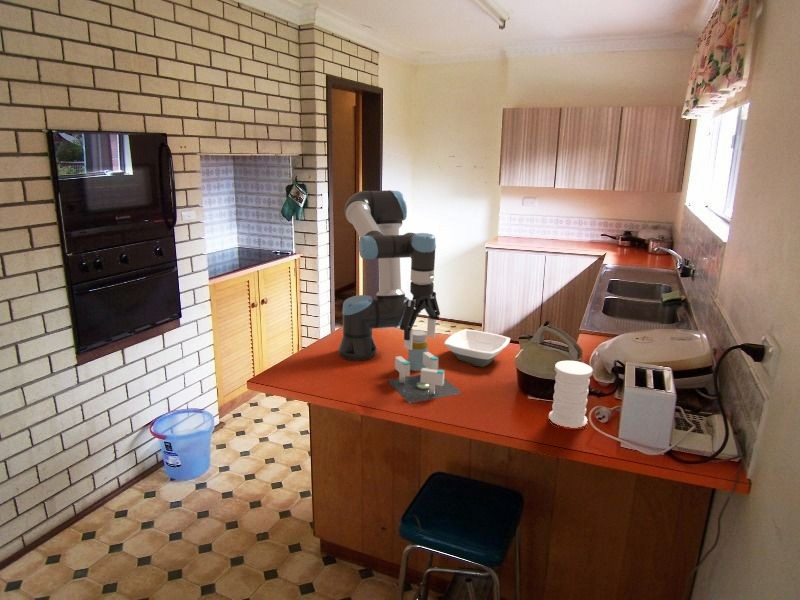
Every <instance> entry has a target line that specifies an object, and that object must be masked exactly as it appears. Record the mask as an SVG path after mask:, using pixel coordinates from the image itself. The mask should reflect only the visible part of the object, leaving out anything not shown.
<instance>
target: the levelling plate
mask: <svg viewBox="0 0 800 600" xmlns="http://www.w3.org/2000/svg"><path fill="white" fill-rule="evenodd" d="M420 380H421V374H418V375H412V376H411V375H410V376H405V382H404V383H400V382H399V378H395V379H394V378H393V379H389V380H386V382H387V383H388V384H389V385H390V386H391V387H392V388H393V389H394V390H395V391H396V392H397V393H398V394H399V395H400V396H401V397H402V398H403V399H404V400H405V401H406V402H407V403H408V404H413V403H418V402H419V403H420V402H424V401H429V400H435V399H440V398H445V397H450V396H455V395H461V394H463V392H462V391H461V390H460V389H459V388H458V387H456V386H454V385H453V384H452V383H451V382H450V381H448V380H447V379H446V378H445V377H444V384H443V386H440V385H435V394H429V384H427V383H421V382H420Z"/></svg>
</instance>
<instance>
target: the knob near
mask: <svg viewBox="0 0 800 600" xmlns="http://www.w3.org/2000/svg"><path fill="white" fill-rule="evenodd" d="M394 369H395V370H396V371H398V373H399V378H398V379H399V382H400V383H404V382H405V377H410V376H411V370H410V362H409V361H408V360H406V359H405V358H404V357H403V356H402V355H399V356H395V357H394Z"/></svg>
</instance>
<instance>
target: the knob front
mask: <svg viewBox="0 0 800 600" xmlns="http://www.w3.org/2000/svg"><path fill="white" fill-rule="evenodd" d="M420 375H421V380H420V382H421V383H427V384H429V394H435V385H440V386H443V384H444V378H445V369H439V368H438V370H434V369H427V368H422V369H421V371H420Z"/></svg>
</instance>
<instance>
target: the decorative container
mask: <svg viewBox="0 0 800 600" xmlns="http://www.w3.org/2000/svg"><path fill="white" fill-rule="evenodd" d="M593 370H594V369H593V367H592V366H590V365H588V364H586V363H584V362H581V361H577V360H561V361H560V360H559V361H557V362H556V363H555V366H554V371H555V372H556V374H555V376H554V381H555V383H554V385H553V386H554V387H553V390H554V393H553V396H552V398H553V403H552V404H551V406H552V407H551V408H552V410H551V411H549V413H548V420H549V419H550V420H551V421H552V422H553V423H555V424H557V425H560V426H564V427H570V428H578V427H582V426H585V425H586V424H587V425H588V422H589V421H588V417H587V416H586V413H587V404H588V395H589V386H590V383H591V381H590V380H591V379H590V377H591V376H593ZM587 421H588V422H587Z"/></svg>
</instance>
